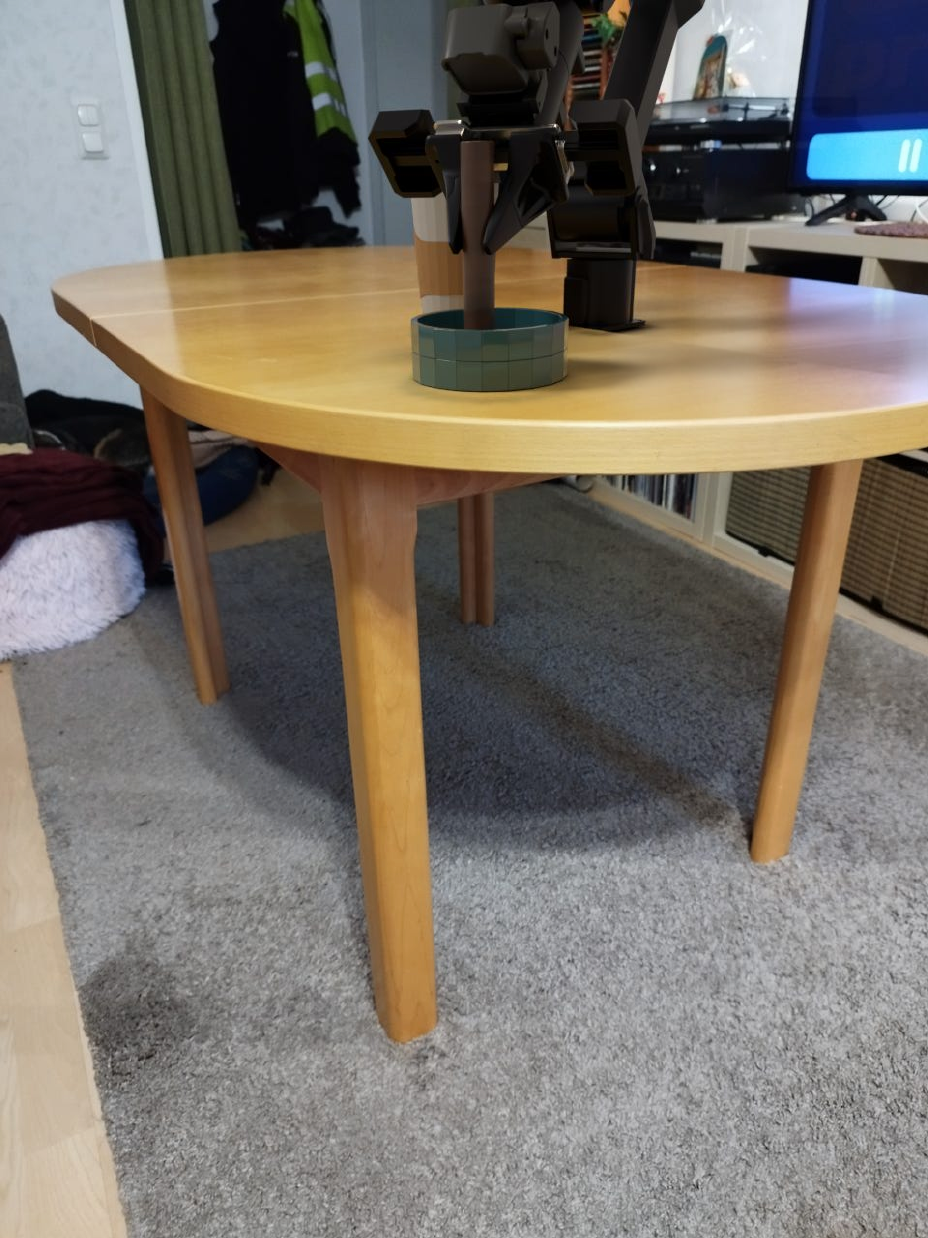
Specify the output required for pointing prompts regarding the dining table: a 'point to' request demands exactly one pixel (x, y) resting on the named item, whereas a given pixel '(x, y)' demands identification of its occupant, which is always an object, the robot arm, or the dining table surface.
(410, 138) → the robot arm
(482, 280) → the stick
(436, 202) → the coffee cup
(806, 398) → the dining table surface
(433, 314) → the bowl
